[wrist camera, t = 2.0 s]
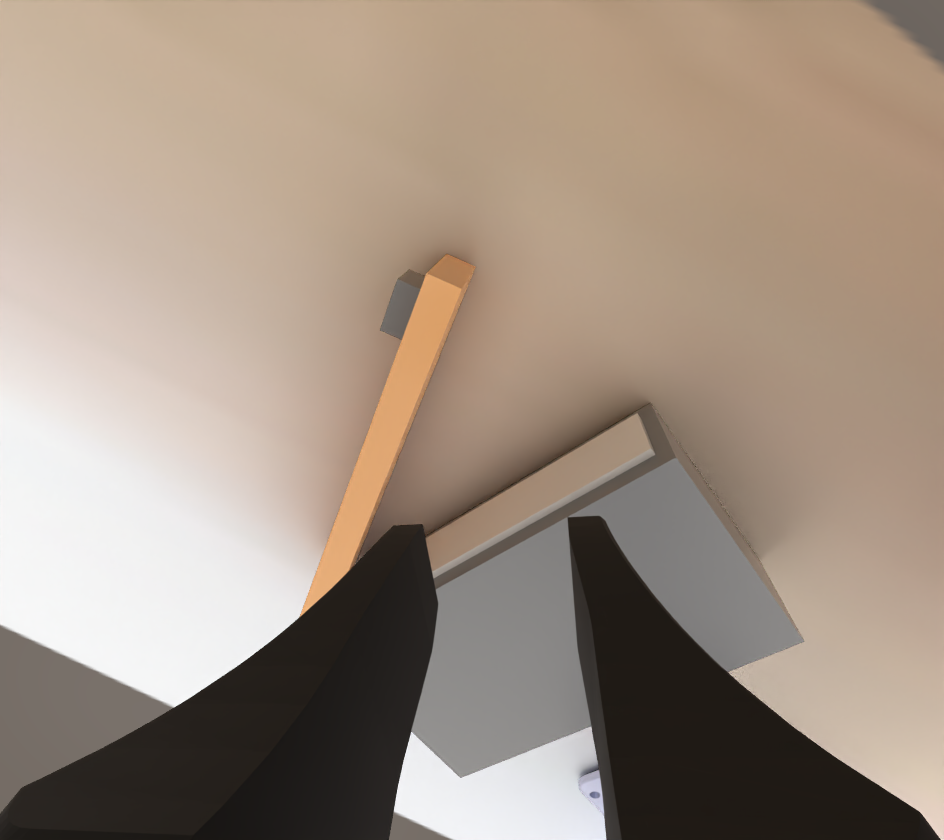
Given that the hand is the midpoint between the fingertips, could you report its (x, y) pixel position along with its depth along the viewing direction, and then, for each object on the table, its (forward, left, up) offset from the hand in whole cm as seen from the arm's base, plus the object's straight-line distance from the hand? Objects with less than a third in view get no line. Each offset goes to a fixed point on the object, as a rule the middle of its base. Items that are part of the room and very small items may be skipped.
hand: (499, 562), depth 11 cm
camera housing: (-7, +4, -9) cm, 12 cm away
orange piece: (+2, +5, -9) cm, 11 cm away
